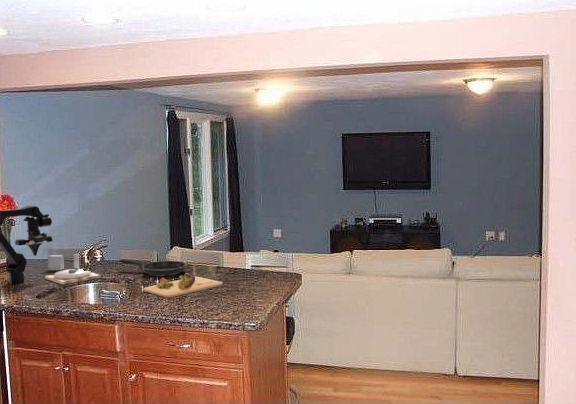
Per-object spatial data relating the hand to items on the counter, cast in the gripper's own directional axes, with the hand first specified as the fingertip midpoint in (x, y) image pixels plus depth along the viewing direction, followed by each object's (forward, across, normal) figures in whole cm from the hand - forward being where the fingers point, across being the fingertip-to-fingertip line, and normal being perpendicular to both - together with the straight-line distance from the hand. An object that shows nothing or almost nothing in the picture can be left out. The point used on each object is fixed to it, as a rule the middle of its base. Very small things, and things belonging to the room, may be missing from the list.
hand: (35, 255), depth 331 cm
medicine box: (+13, +18, +15) cm, 27 cm away
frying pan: (+14, +52, -39) cm, 67 cm away
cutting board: (+14, +42, -84) cm, 94 cm away
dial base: (+13, +14, -16) cm, 25 cm away
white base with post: (+11, +14, -16) cm, 24 cm away
